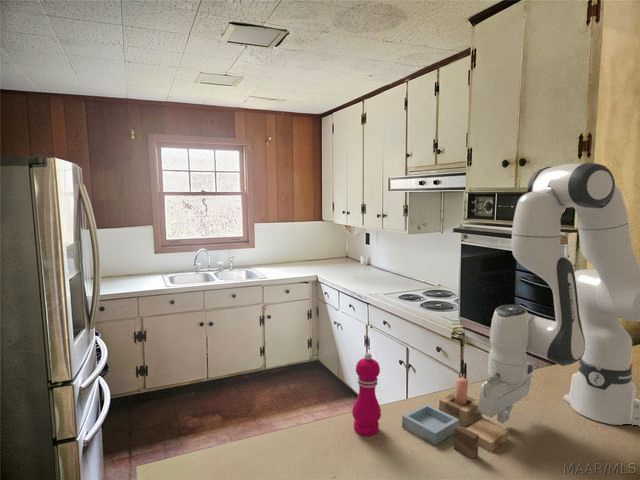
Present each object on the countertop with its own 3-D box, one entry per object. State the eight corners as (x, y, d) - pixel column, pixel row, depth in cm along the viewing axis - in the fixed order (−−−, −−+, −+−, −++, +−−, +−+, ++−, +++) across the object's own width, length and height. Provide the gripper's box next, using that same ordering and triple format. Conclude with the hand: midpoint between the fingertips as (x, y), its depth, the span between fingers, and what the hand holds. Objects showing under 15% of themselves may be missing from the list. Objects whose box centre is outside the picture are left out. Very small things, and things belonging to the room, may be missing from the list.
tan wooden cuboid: (481, 428, 108) (482, 419, 108) (507, 440, 102) (508, 431, 102) (463, 439, 103) (464, 429, 103) (490, 453, 97) (491, 443, 97)
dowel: (458, 411, 115) (460, 376, 114) (468, 415, 113) (470, 380, 112) (452, 414, 113) (453, 379, 112) (461, 419, 111) (463, 383, 110)
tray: (426, 414, 113) (426, 403, 113) (458, 430, 106) (459, 419, 105) (402, 426, 107) (402, 415, 107) (434, 445, 99) (435, 433, 99)
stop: (458, 445, 100) (459, 425, 99) (477, 455, 96) (479, 435, 95) (453, 448, 98) (454, 428, 98) (473, 459, 94) (474, 438, 94)
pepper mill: (379, 438, 102) (382, 360, 99) (350, 435, 103) (351, 357, 101) (381, 423, 109) (383, 349, 106) (353, 419, 110) (355, 346, 108)
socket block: (455, 404, 119) (456, 391, 118) (481, 416, 113) (482, 402, 112) (438, 413, 114) (439, 399, 113) (465, 426, 108) (466, 412, 107)
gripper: (497, 385, 97) (494, 440, 99) (537, 363, 110) (533, 413, 112) (473, 375, 102) (469, 429, 103) (513, 356, 115) (510, 403, 116)
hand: (503, 420), depth 108 cm, fingers closed
